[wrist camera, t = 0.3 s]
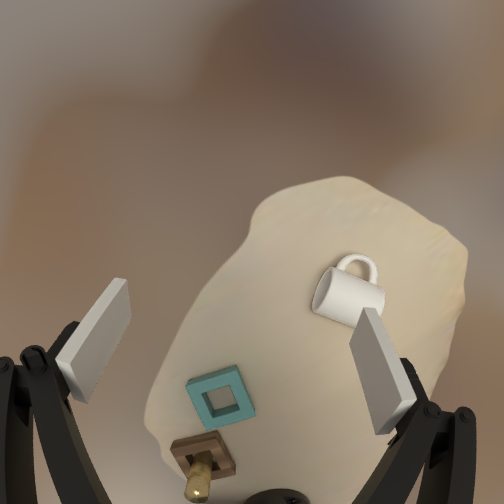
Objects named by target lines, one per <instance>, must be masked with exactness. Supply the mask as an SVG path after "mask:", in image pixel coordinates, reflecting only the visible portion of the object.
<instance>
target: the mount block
mask: <svg viewBox="0 0 504 504" xmlns="http://www.w3.org/2000/svg"><path fill="white" fill-rule="evenodd" d="M207 450H210V451H211V453H212V454H213V456H214V458H215V460H216V462H214V463H213V467H212V474H211V480H215V479H220V478H224V477H228V476H232V475H236V465H235V463H234V461H233V460H232V458H231V456H230V454H229V452H228V450H227V448H226V446H225V444H224V442H223V440H222V438H221V436H220V434H219V432H218V430H216V431H212V432H208V433H205V434H201V435H197V436H193V437H189V438H184V439H180V440H175V441H173V443H172V445H171V448H170V451H171V452H172V454H173V456H174V458H175V459H176V461H177V463H178V464H179V466H180V468H181V469H182V471H183V473H184V474H185V476H186V478H187V479H188V478H189V474H190V470H191V466H192V462H193V459H194V458H193V456H192V455H191V454H195V453H199V452H203V451H207Z"/></svg>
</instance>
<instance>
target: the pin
mask: <svg viewBox="0 0 504 504" xmlns="http://www.w3.org/2000/svg"><path fill="white" fill-rule="evenodd" d="M213 459H214V456H213V454H212V453H211V451H210V450H207V451H203V452H199V453H195V455H194V459H193V462H192V466H191V470H190V474H189V478H188V481H187V485H186V489H185V493H184V495H185V497H186V499H187V500H189V501H191V502H193V503H204V502H206V501H207V500H208V496H209V488H210V481H211V474H212V467H213Z"/></svg>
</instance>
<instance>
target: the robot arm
mask: <svg viewBox="0 0 504 504" xmlns="http://www.w3.org/2000/svg"><path fill="white" fill-rule="evenodd" d="M131 319H132V316H131V309H130V302H129V294H128V285H127V280H126V279H119V278H114V279H113V281H112V282H111V283H110V285H109V286H108V287H107V288H106V290H105V291H104V292H103V293H102V295H101V296H100V297H99V299H98V300H97V301H96V303H95V304H94V305H93V307H92V308H91V309H90V311H89V312H88V314H87V315H86V316H85V317H84V319H83V320H82V321H81V323H80V322H76V321H73V322H72V323H70V324H69V325H67V326H66V327H65V328H64V330H63V331H62V332H61V334H60V335H59V336H58V338H57V340H56V341H55V342H54V343H53V345H52V346H51V348H50V349H49V350H48V352H47V353H46V352H45V350H44V349H43V348H42V347H41V346H38V345H33V346H29V347H26V348H25V349H24V350H23V351H22V353H21V354H20V360H21V362H22V364H23V366H22V365H15V364H14V362H13V360H12V359H11V358H9V357H6V356H5V357H0V504H38V502H37V495H36V486H35V475H34V457H33V414H34V418H35V422H36V426H37V431H38V435H39V439H40V442H41V446H42V449H43V453H44V456H45V459H46V462H47V466H48V468H49V472H50V474H51V477H52V480H53V483H54V485H55V488H56V490H57V493H58V496H59V498H60V501H61V503H62V504H112V503H111V501H110V499H109V497H108V495H107V493H106V491H105V489H104V488H103V486H102V483H101V481H100V480H99V477H98V475H97V473H96V471H95V469H94V466H93V464H92V462H91V460H90V458H89V455H88V453H87V451H86V448H85V446H84V443H83V441H82V438H81V435H80V432H79V430H78V427H77V425H76V421H75V418H74V416H73V413H72V409H71V406H70V404H69V400H68V399H67V397H68V395H69V393H70V392H71V394H72V396H73V398H74V399H75V400H78V401H81V402H84V403H86V404H88V402H89V400H90V398H91V396H92V394H93V392H94V389H95V388H96V386H97V384H98V381H99V379H100V378H101V375H102V373H103V371H104V370H105V368H106V366H107V364H108V362H109V360H110V358H111V356H112V354H113V352H114V351H115V349H116V347H117V345H118V343H119V341H120V339H121V338H122V336H123V334H124V332H125V330H126V329H127V327H128V325H129V323H130V321H131ZM349 345H350V348H351V351H352V354H353V357H354V361H355V364H356V367H357V371H358V374H359V377H360V381H361V384H362V387H363V391H364V394H365V398H366V401H367V405H368V409H369V412H370V416H371V420H372V423H373V427H374V431H375V435H382V434H390V432H391V431H392V430H393V429H394V428H395V427H396V431H397V434H396V435H395V436H394V437H393V438H392V439H391V440H390V442H389V443H388V445H389V447H388V448H387V450H386V452H385V454H384V455H383V457H382V459H381V460H380V462H379V464H378V465H377V467H376V468H375V470H374V472H373V473H372V475H371V476H370V478H369V479H368V481H367V482H366V484H365V485H364V487H363V488H362V490H361V491H360V493H359V494H358V495H357V497H356V498H355V500H354V501H353V502H352V504H404V503H405V501H406V499H407V498H408V496H409V494H410V492H411V490H412V488H413V486H414V484H415V482H416V480H417V478H418V476H419V474H420V471H421V469H422V467H423V465H424V463H425V465H424V470H423V476H422V481H421V486H420V490H419V495H418V499H417V503H416V504H473V495H474V486H475V472H476V417H475V414H474V413H473V411H472V410H471V409H470V408H467V407H459V408H458V409H457V410H456V411H455V412H454V413H452V412H445V411H441V409H440V407H439V406H438V405H437V404H436V403H434V402H431V401H429V400H428V397H427V395H426V393H425V391H424V388H423V386H422V384H421V382H420V380H419V377H418V375H417V374H416V371H415V369H414V367H413V365H412V364H411V363H410V362H409V360H408V359H407V358H399V356H398V354H397V352H396V350H395V347H394V345H393V343H392V341H391V339H390V337H389V335H388V333H387V331H386V329H385V327H384V324H383V322H382V320H381V318H380V316H379V314H378V312H377V310H376V308H369V307H363V309H362V312H361V315H360V317H359V320H358V323H357V325H356V328H355V330H354V333H353V335H352V338H351V340H350V343H349ZM244 504H310V502H309V500H308V498H307V497H306V496H304V495H303V494H301V493H299V492H297V491H294V490H288V489H274V490H268V491H264V492H261V493H258V494H256V495H254V496H252V497H250V498H249V499H248V500H246V501H245V502H244Z"/></svg>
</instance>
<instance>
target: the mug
mask: <svg viewBox="0 0 504 504" xmlns="http://www.w3.org/2000/svg"><path fill="white" fill-rule="evenodd" d="M353 260H361V261H363V262H365V263H367V264H368V266H369V268H370V276H369V281H368V282H367V281H365V280H363V279H360V278H358V277H356V276H353V275H351V274H349V273H346V272H345V271H344V270H345V268H346V267H347V265H348V264H349V263H350V262H351V261H353ZM377 278H378V271H377V267H376V265H375V263H374V262H373V260H372V259H370V258H369V257H367V256H365V255H361V254H350V255H347V256H345V257H344V258H342V259H341V260H340V262H339V263H338V265H337V266H336V268H335V267H329V268H328V269H327V270H326V271H325V273H324V274H323V276H322V277H321V279H320V281H319V283H318V286H317V288H316V291H315V294H314V297H313V301H312V311H313V312H314V313H317V314H319V315H322V316H324V317H327V318H330V319H332V320H335V321H338V322H340V323H343V324H346V325H348V326H351V327H354V328H356V325H357V323H358V320H359V317H360V315H361V312H362V309H363V307H369V308H376V310H377V312H378V314H379V316H381V314H382V311H383V308H384V304H385V292H384V290H383V288H381V287H379V286H377V285H376V283H377Z"/></svg>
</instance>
